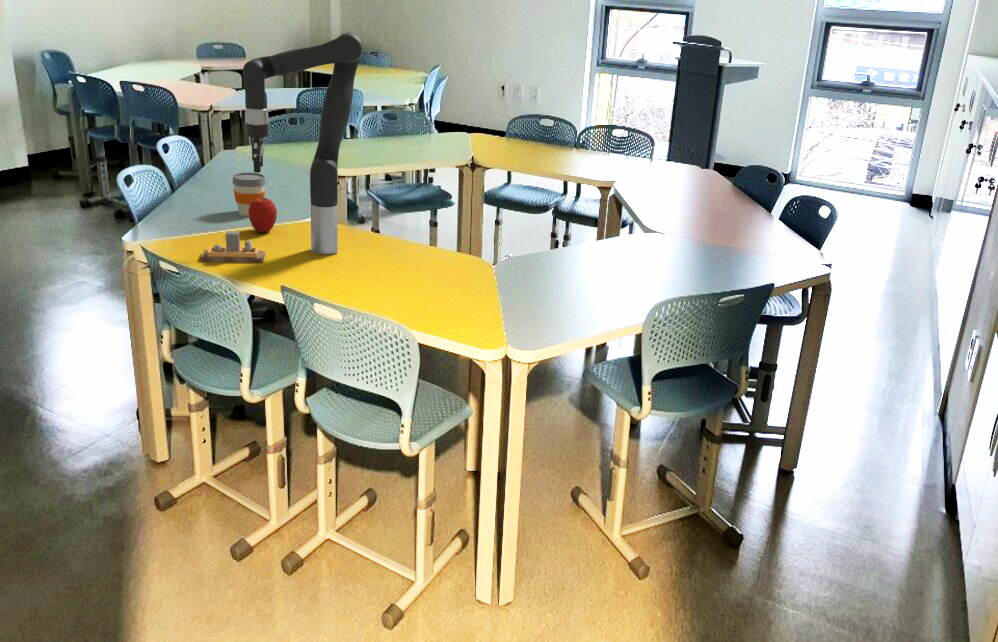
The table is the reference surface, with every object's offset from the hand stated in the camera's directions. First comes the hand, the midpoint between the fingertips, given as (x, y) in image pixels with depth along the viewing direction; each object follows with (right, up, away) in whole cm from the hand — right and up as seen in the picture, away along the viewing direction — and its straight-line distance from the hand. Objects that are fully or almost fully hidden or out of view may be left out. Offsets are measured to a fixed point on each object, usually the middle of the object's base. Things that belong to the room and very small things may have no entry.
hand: (258, 169), depth 290 cm
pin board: (-8, -30, -1) cm, 32 cm away
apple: (-6, -19, +28) cm, 34 cm away
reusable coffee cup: (-17, -9, +48) cm, 52 cm away
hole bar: (-8, -29, -2) cm, 30 cm away
